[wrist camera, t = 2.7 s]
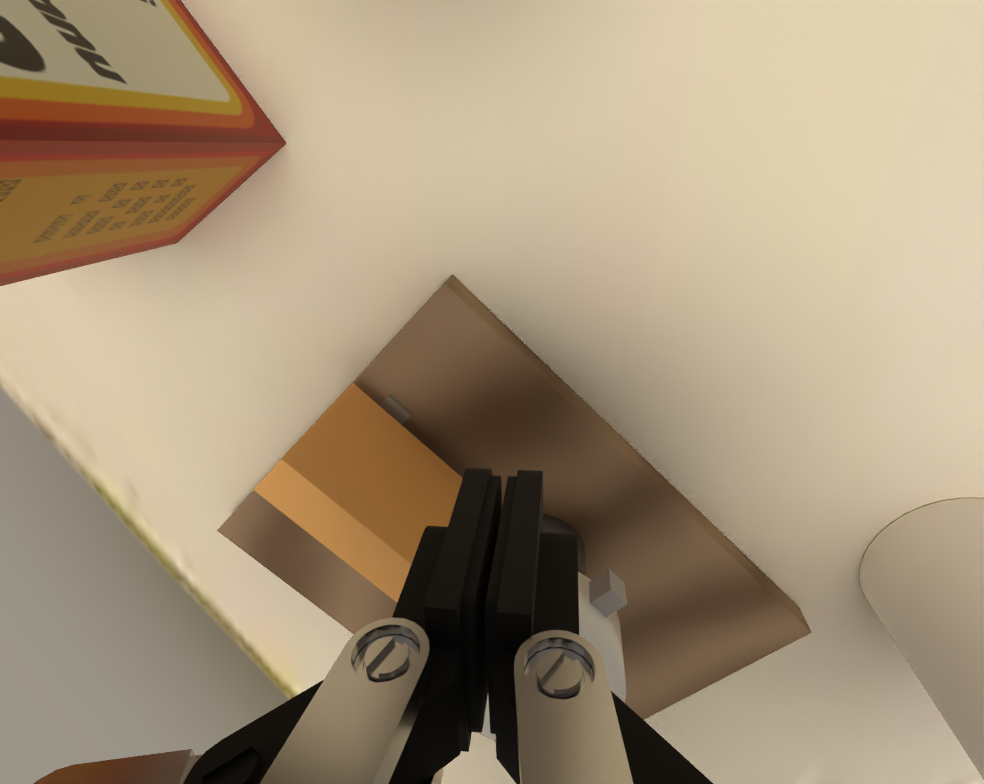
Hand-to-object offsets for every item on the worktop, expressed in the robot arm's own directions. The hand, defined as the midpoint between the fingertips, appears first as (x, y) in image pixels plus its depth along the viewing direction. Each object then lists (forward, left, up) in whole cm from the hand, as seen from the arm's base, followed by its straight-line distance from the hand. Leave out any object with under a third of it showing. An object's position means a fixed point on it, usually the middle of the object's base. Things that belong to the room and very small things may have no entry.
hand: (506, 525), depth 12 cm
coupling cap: (-3, +6, -9) cm, 11 cm away
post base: (-6, +9, -11) cm, 16 cm away
